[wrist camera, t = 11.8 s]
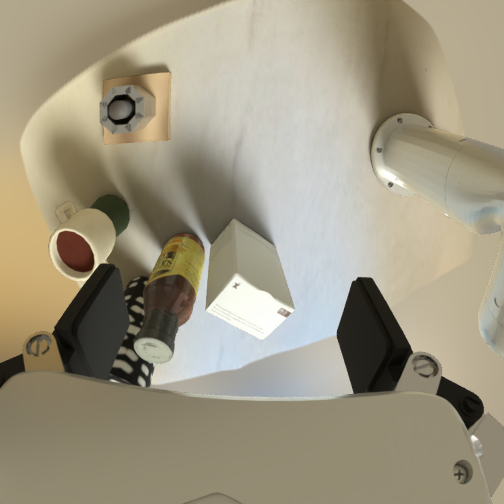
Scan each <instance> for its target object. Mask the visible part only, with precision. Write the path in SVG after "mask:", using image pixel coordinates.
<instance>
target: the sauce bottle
mask: <svg viewBox="0 0 504 504" xmlns="http://www.w3.org/2000/svg"><path fill="white" fill-rule="evenodd" d="M204 251H205V250H204V246H203V244H202V242H201V241H200V240H199V239H198V238H197V237H195V236H193V235H191V234H188V233H181V234H177V235H175V236H173V237H172V238H171V239H170V240H169V241H168V242H167V243H166V244H165V246H164V248H163V250H162V252H161V254H160V256H159V258H158V260H157V262H156V265H155V267H154V269H153V271H152V273H151V275H150V277H149V280H148V282H147V284H146V286H145V288H144V291H143V303H144V315H145V316H144V319H143V324H142V326H141V329H140V331H139V332H138V333H137V335H136V338H135V341H134V350H135V351H136V353H137V354H138V355H139V356H140V357H141V358H142V359H144V360H146V361H148V362H151V363H155V364H162V363H166V362H168V361H170V360H171V358H172V357H173V353H174V346H175V345H174V341H175V336H176V333H177V331H178V327H179V326H181V325H183V324H185V322H187V320H189V318H190V315H191V313H192V310H193V304H194V302H195V300H196V296H197V291H198V287H199V282H200V278H201V274H202V269H203V265H204V260H205V252H204Z"/></svg>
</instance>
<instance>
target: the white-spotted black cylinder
mask: <svg viewBox="0 0 504 504" xmlns="http://www.w3.org/2000/svg"><path fill="white" fill-rule="evenodd" d="M148 280H149V277H137V278H135V279H133V280H131V281H130V282H129V284H128V285H127V287H126V289H125V291H124V296H125V301H126V305H127V310H128V314H129V318H130V325H129V328H128V331H127V333H126V335H125V338H124V340H123V342H122V345H121V347H120V349H119V352H118V354H117V357H116V359H115V361H114V364H113V366H112V369H111V371H110V374H109V376H108V379H107V381H112V382H118V383H123V384H129V385H135V386H141V387H147V388H150V384H151V380H152V376H153V372H154V368H155V363H151V362H148V361H146V360H144V359H142V358H141V357H140V356H139V355H138V354H137V353H136V351H135V350H134V341H135V338H136V335H137V333H138V332H139V331H140V329H141V326H142V324H143V319H144V316H145V315H144V303H143V291H144V288H145V286H146V284H147V282H148Z"/></svg>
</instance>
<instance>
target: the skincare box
mask: <svg viewBox="0 0 504 504" xmlns="http://www.w3.org/2000/svg"><path fill="white" fill-rule="evenodd" d="M205 310H206V311H207V312H209V313H211V314H213V315H215V316H217V317H218V318H220V319H222V320H224V321H226V322H228V323H230V324H232V325H234V326H236V327H238V328H239V329H241V330H243V331H245V332H247V333H249V334H251V335H253V336H255V337H257V338H259V339H261V340H263V339H264V338H265V337H267V336H268V335H269V334H270V333H271V332H272V331H273V330H274V329H275V328H276V327H277V326H278V325H279V324H280V323H282V322H283V321H284V320H285V319H286V318H287V317H288V316H289V315H290V314H291V313H292V312H293V311H294V310H295V308H294V304H293V301H292V298H291V295H290V291H289V288H288V285H287V282H286V278H285V275H284V272H283V269H282V266H281V263H280V259H279V256H278V253H277V250H276V247H275V246H274V245H272V244H271V243H269V242H268V241H266V240H265V239H264V238H262V237H261V236H259V235H258V234H257V233H255V232H254V231H252V230H251V229H249V228H248V227H246V226H245V225H243V224H242V223H240V222H239V221H237V220H236V219H235V218H233V219H232V220H231V222H230V223H229V224H228V225H227V227H226V228H225V229H224V230H223V231H222V233H221V234H220V235H219V236H218V238H217V239H216V240H215V242H214V243H213V244H212V245H211V248H210V258H209V270H208V282H207V296H206V309H205Z"/></svg>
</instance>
